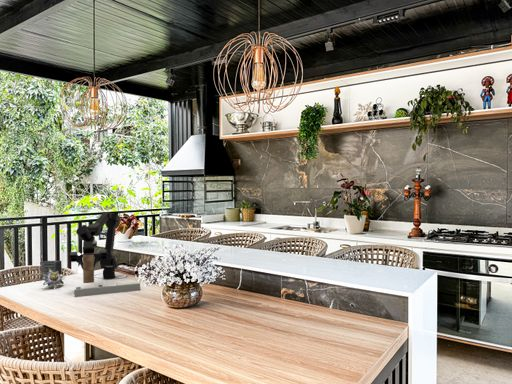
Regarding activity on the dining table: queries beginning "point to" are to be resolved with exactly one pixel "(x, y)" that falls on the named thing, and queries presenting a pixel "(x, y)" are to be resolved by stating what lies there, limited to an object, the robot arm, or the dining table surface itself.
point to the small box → (51, 267)
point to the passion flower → (52, 279)
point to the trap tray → (107, 289)
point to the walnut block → (88, 268)
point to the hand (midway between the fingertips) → (88, 268)
